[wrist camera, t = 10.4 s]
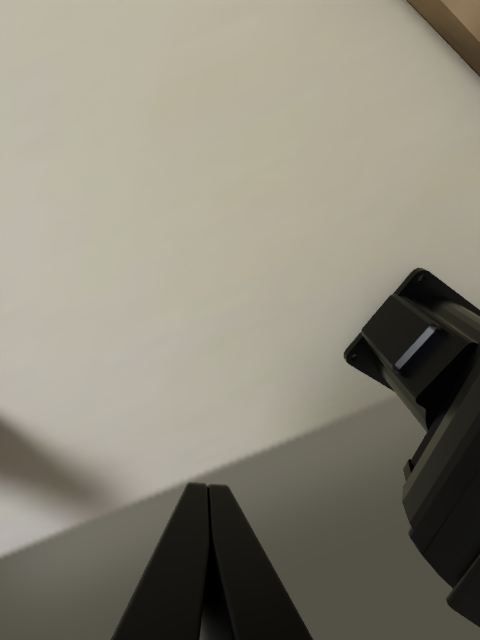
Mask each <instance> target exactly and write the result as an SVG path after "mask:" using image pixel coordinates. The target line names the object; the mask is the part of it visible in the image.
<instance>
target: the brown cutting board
mask: <svg viewBox="0 0 480 640" xmlns="http://www.w3.org/2000/svg"><path fill="white" fill-rule="evenodd" d="M408 1H409V2H410V3H411V5H412V6H413V7H414V8H415V9H416V10H417V11H418V12H419V13H420V14H421V15H422V16H423V17H424V18H425V19H426V20H427V21H428V22H429V23H430V24H431V25H432V26H433V27H434V29H435V30H436V31H437V32H438V33H439V34H440V35H441V36H442V37H443V38H444V39H445V40H446V41H447V42H448V43H449V44H450V45H451V46H452V47H453V48H454V49H455V50H456V51H457V53H458V54H459V55H460V56H461V57H462V58H463V59H464V60H465V61H466V62H467V63H468V64H469V65H470V66H471V67H472V68H473V69H474V70H475V71H476V72H477V73H478V74H479V76H480V0H408Z"/></svg>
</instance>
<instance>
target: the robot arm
mask: <svg viewBox="0 0 480 640" xmlns="http://www.w3.org/2000/svg"><path fill="white" fill-rule="evenodd" d="M420 275H423V277H422V279H421V280H420V281H417V279H418V277H419V276H420ZM353 354H356V356H355V357H354V358H350V357H351V355H353ZM344 359H345V360H346V362H347V363H348V364H350V365H351V366H353V367H355V368H356V369H358V370H360V371H361V372H363V373H365V374H366V375H368V376H370V377H371V378H373V379H375V380H376V381H378V382H380V383H381V384H383V385H385V386H386V387H388V388H390V389H391V390H393V391H395V392H396V394H397V395H398V396H399V397H400V399H401V400H402V401H403V402H404V404H405V405H406V406H407V408H408V409H409V410H410V411H411V413H412V414H413V415H414V416H415V418H416V419H417V420H418V421H419V423H420V424H421V425H422V426H423V428H424V429H425V430H426V431H427V434H426V436H425V437H424V439H423V441H422V443H421V444H420V446H419V448H418V449H417V451H416V453H415V455H414V456H413V458H412V460H411V459H409V460H408V462H407V463H406V465H405V467H404V469H403V470H404V475H405V479H406V483H405V485H404V486H403V501H402V502H403V505H404V508H405V511H406V514H407V517H408V520H409V523H410V525H411V528H410V529H409V536H410V538H411V540H412V542H413V543H414V545H415V546H416V548H417V549H418V550H419V552H420V554H421V555H422V557H423V558H424V560H425V561H426V562H427V563H428V564H429V565H430V567H431V568H432V569H433V570H434V571H435V572H436V574H437V575H438V576H439V577H440V578H441V579H442V580H443V581H444V582H445V583H446V584H447V585H448V586H450V587H451V588H452V591H451V592H450V593H449V595H448V596H447V598H446V600H447V603H448V605H449V606H450V607H451V608H452V609H454V610H455V611H456V612H458V613H459V614H461V615H462V616H464V617H465V618H467V619H468V620H470V621H471V622H473V623H474V624H476V625H477V626H479V627H480V310H479V309H478V308H476V307H475V306H474V305H472V304H471V303H470V302H468V301H467V300H466V299H464V298H463V297H462V296H460V295H459V294H458V293H456V292H455V291H454V290H453V289H451V288H450V287H449V286H447V285H446V284H445V283H443V282H442V281H441V280H439V279H438V278H437V277H435V276H434V275H433V274H431V273H430V272H429V271H427V270H425V269H423V268H417V269H415V270H413V271H412V272H411V273H410V275H409V276H408V277H407V278H406V279H405V281H404V282H403V283H402V284H401V285H400V286H399V288H398V289H397V290H396V291H395V292H394V294H393V295H391V296H389V298H388V299H387V300H386V301H385V302H384V303H383V305H382V306H381V307H380V308H379V309H378V311H377V312H376V313H375V314H374V315H373V316H372V318H371V319H370V320H369V321H368V322H367V324H366V325H365V326H364V327H363V328H362V331H361V333H360V334H359V335H358V336H357V337H356V338H355V340H354V341H353V342H352V343H351V344H350V346H349V347H348V348H347V349H346V350H345V352H344ZM111 640H313V638H312V637H311V635H310V633H309V631H308V629H307V627H306V626H305V624H304V622H303V620H302V618H301V617H300V615H299V613H298V611H297V609H296V607H295V606H294V604H293V602H292V600H291V598H290V597H289V595H288V593H287V591H286V590H285V588H284V586H283V584H282V582H281V580H280V578H279V577H278V575H277V573H276V571H275V570H274V568H273V566H272V564H271V562H270V560H269V559H268V557H267V555H266V553H265V551H264V550H263V548H262V546H261V544H260V542H259V541H258V539H257V537H256V535H255V533H254V531H253V530H252V528H251V526H250V524H249V522H248V521H247V519H246V517H245V515H244V513H243V512H242V510H241V508H240V506H239V504H238V502H237V501H236V499H235V497H234V495H233V493H232V492H231V490H230V488H229V487H228V486H227V485H223V484H209V485H208V486H207V484H205V483H197V482H189V483H187V485H186V486H185V489H184V491H183V493H182V495H181V497H180V499H179V501H178V503H177V505H176V507H175V509H174V511H173V513H172V515H171V517H170V520H169V521H168V523H167V525H166V527H165V530H164V532H163V534H162V536H161V538H160V540H159V542H158V544H157V546H156V548H155V550H154V552H153V554H152V556H151V558H150V560H149V562H148V564H147V567H146V569H145V570H144V573H143V575H142V577H141V579H140V581H139V583H138V585H137V587H136V589H135V591H134V593H133V595H132V597H131V599H130V601H129V603H128V605H127V608H126V609H125V612H124V614H123V616H122V618H121V620H120V622H119V624H118V626H117V628H116V630H115V632H114V634H113V636H112V638H111Z"/></svg>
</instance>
